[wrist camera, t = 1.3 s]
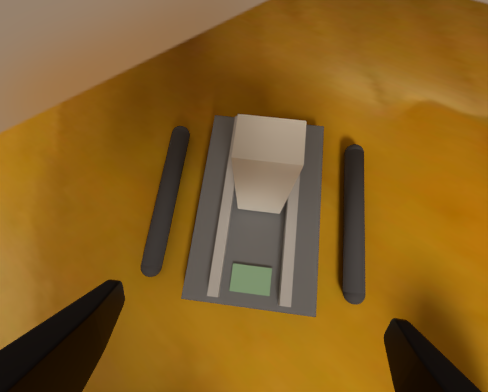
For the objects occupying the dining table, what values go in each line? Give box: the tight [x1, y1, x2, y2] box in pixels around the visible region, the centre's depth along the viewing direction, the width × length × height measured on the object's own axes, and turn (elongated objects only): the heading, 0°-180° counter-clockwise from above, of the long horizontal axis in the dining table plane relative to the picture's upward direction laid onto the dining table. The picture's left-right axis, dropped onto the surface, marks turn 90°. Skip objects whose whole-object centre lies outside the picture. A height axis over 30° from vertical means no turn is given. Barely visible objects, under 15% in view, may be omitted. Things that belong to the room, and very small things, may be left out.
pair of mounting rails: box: [141, 126, 365, 304], centre depth 23 cm, size 14×18×2 cm
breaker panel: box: [181, 115, 324, 317], centre depth 22 cm, size 16×10×2 cm, turn 173°
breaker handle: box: [231, 114, 307, 214], centre depth 17 cm, size 2×3×10 cm
